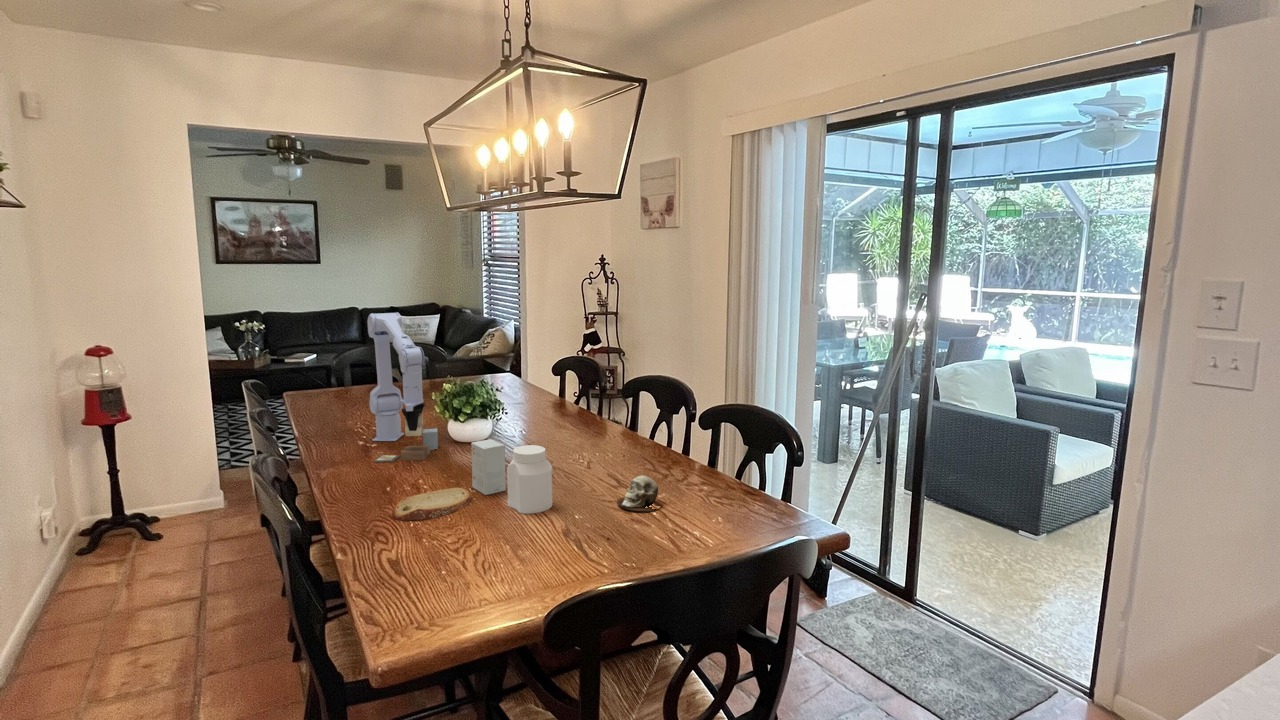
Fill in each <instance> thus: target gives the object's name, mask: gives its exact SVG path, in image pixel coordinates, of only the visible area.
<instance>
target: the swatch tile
mask: <svg viewBox="0 0 1280 720" xmlns="http://www.w3.org/2000/svg"><path fill="white" fill-rule="evenodd" d="M399 458H401V455H392V454H391V455H387V454H385V455H384V454H383V455H380V456H378V457H377V458H376V459H375V460H373V463H382V462H393V463H395V461H397V460H398V459H399Z"/></svg>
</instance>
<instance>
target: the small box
mask: <svg viewBox="0 0 1280 720" xmlns="http://www.w3.org/2000/svg"><path fill="white" fill-rule="evenodd" d="M470 446H471V478H472V479H471V481H472V482H471V483H472V484H471V485H472V488H473V489H474V490H476V491H478V492H480V493H481V494H483V495H485V496H488V495H492V494H497V493H500V492H504V491H506V490H507V486H506V485H507V484H506V483H507V482H506V480H507V479H506V445H504V444H503V443H501V442H498V441H496V440H494V439H492V438H489V439H484V440H477V441H473V442H472V441H471V445H470Z"/></svg>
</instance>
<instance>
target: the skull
mask: <svg viewBox="0 0 1280 720" xmlns="http://www.w3.org/2000/svg"><path fill="white" fill-rule="evenodd" d="M626 491H627V492H626V494H625V495H624V496H623V497H620V498H618V499H617V500H616V504H617V505H618V506H619V507H621V508H623V509H625V510H629V511H635V512H649V511H650V512H652V511H657V510H658V509H656V510H655V509H652V507H649V506H650V505H652V504H653V503H655V501H656V500H657V498H658V495H659V486H658V484H657V483H656V481H654V479H653V478H651V477H649V476H646V475H642V474H641V475H638V476H636V477H635V478H633V479H632V480H630V486H629V487H627V489H626ZM646 506H647V507H648V508H645V507H646Z"/></svg>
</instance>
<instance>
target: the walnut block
mask: <svg viewBox="0 0 1280 720" xmlns="http://www.w3.org/2000/svg"><path fill="white" fill-rule="evenodd" d="M430 452H431V450H430V446H423V445H407V446H405V447H404V448H403V449H402V450H401V451H400V460H401V461H425V460H426V459H427V457H429V455H430Z"/></svg>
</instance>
